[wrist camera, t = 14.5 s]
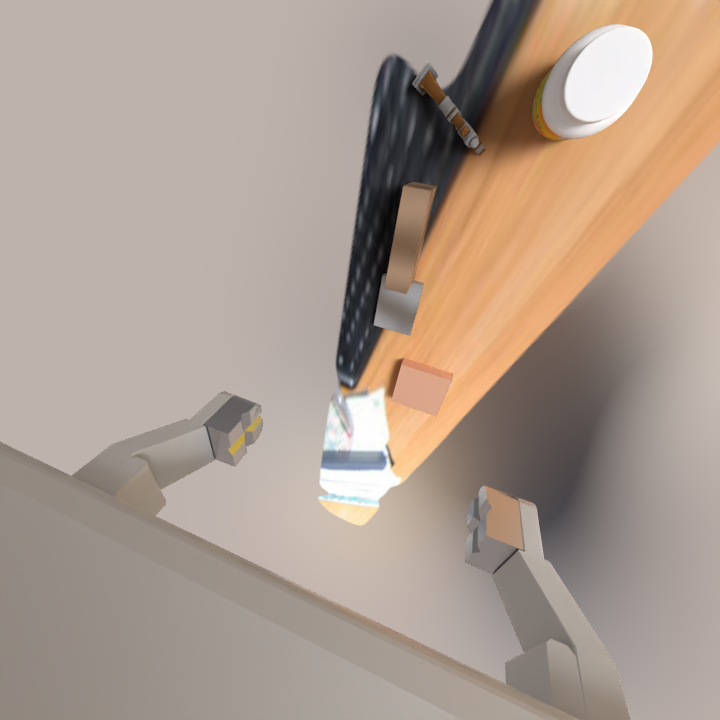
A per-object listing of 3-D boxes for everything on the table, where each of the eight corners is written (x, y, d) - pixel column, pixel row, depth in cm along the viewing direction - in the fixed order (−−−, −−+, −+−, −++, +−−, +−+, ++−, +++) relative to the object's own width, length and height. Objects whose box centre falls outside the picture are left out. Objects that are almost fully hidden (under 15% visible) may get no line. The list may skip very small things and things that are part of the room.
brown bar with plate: (401, 179, 31) (390, 183, 28) (449, 188, 30) (444, 193, 27) (375, 322, 42) (365, 338, 38) (410, 332, 41) (403, 349, 37)
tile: (401, 364, 42) (391, 400, 46) (451, 380, 41) (436, 416, 45) (404, 356, 43) (394, 392, 48) (453, 372, 42) (438, 407, 46)
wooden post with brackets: (479, 168, 28) (464, 152, 25) (431, 106, 29) (410, 82, 26) (496, 151, 27) (483, 131, 24) (446, 87, 28) (427, 59, 25)
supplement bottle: (534, 66, 24) (555, 28, 17) (619, 41, 22) (687, -16, 15) (528, 148, 27) (544, 147, 19) (603, 131, 25) (654, 123, 17)
